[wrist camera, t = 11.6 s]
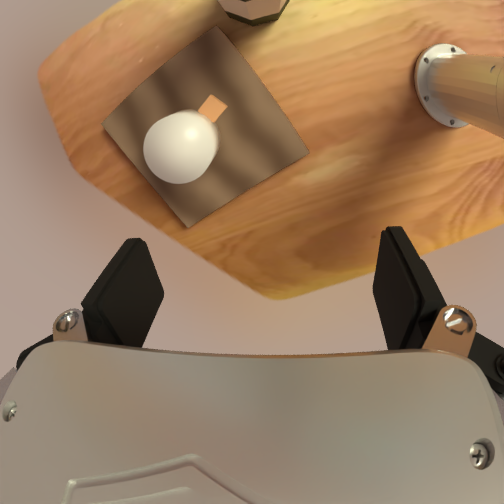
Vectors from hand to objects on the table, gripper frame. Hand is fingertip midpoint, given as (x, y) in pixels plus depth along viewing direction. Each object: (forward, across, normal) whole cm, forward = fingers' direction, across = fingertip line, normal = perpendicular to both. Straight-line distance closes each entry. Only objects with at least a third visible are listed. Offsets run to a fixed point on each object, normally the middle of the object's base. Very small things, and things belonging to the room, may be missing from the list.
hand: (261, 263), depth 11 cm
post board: (+28, +10, -1) cm, 30 cm away
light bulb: (+22, +9, -1) cm, 24 cm away
